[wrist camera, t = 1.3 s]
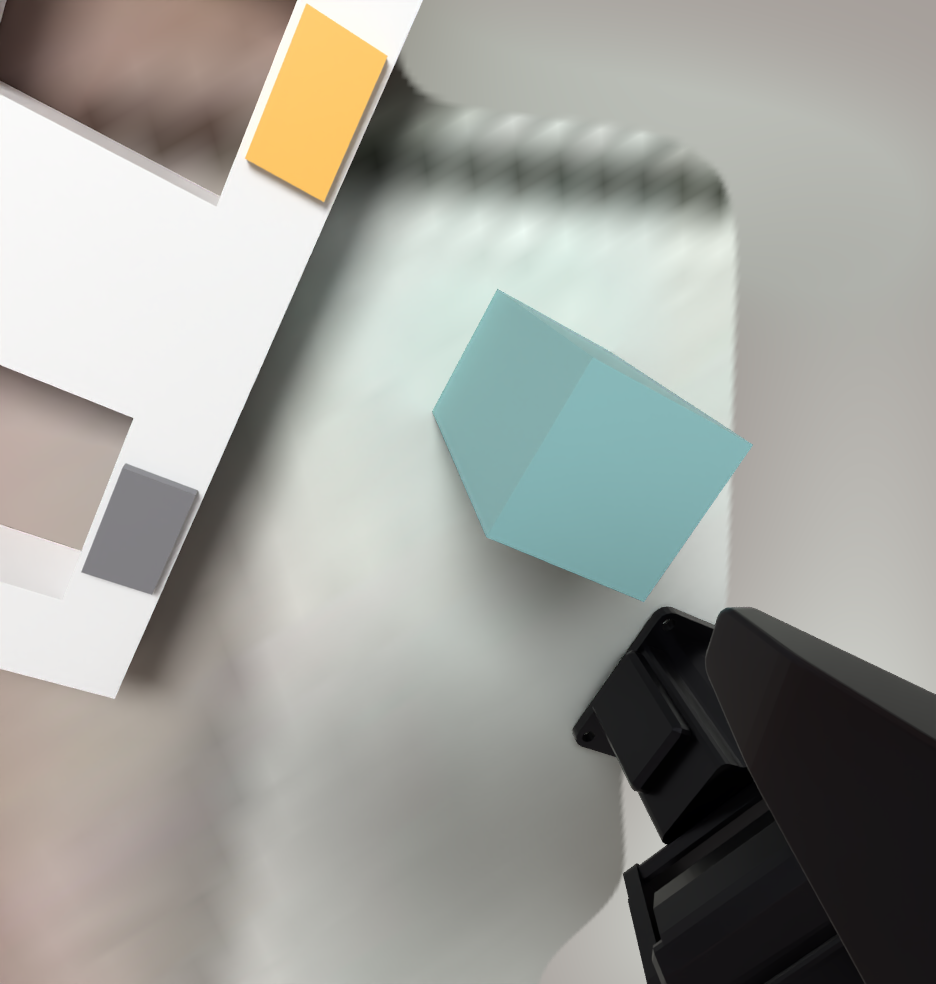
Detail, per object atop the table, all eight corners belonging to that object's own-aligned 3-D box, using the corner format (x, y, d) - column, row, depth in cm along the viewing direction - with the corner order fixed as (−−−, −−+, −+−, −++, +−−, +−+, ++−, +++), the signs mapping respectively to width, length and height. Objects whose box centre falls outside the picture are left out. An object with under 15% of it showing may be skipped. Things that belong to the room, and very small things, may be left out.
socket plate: (461, -95, 16) (486, -142, 14) (135, 645, 22) (111, 706, 20) (-20, -461, 13) (-106, -616, 10) (-245, 535, 19) (-331, 591, 17)
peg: (609, 351, 21) (753, 445, 14) (542, 463, 22) (643, 602, 15) (497, 289, 20) (593, 356, 13) (432, 411, 21) (486, 537, 14)
